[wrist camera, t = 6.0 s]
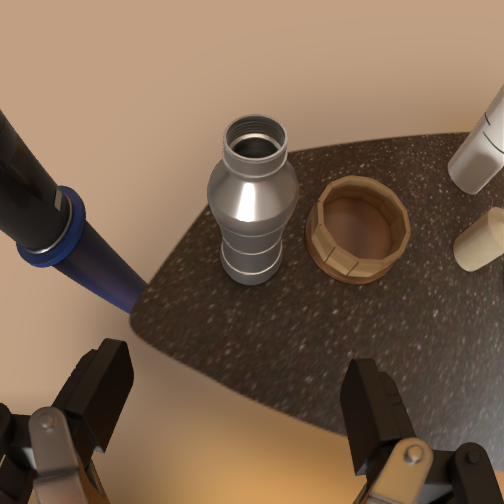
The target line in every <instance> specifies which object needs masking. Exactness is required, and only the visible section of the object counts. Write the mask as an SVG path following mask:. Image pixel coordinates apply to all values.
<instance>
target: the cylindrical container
mask: <svg viewBox="0 0 504 504" xmlns="http://www.w3.org/2000/svg"><path fill="white" fill-rule="evenodd" d="M503 166H504V85H503V86H502V88H501V89H500V91H499V93H498V94H497V95H496V97H495V98H494V100H493V102H492V103H491V104H490V106H489V107H488V109H487V110H486V112H485V113H484V115H483V116H482V117H481V119H480V120H479V122H478V123H477V125H476V126H475V128H474V129H473V130H472V132H471V133H470V134H469V136H468V137H467V138H466V140H465V141H464V142H463V144H462V145H461V146H460V148H459V149H458V150H457V152H456V153H455V154H454V156H453V157H452V158H451V160H450V161H449V162H448V172H449V175H450V177H451V179H452V180H453V182H454V183H455V184H456V186H458V187H459V188H460V189H461V190H462V191H464V192H465V193H468V194H472V195H473V194H477V193H478V192H479V191H480V190H481V189H482V188H483V187H484V186H485V185H486V184H487V183H488V182H489V181H490V180H491V179H492V177H493V176H494V175H495V174H496V173H497V172H498V171H499V170H500V169H501V168H502V167H503Z"/></svg>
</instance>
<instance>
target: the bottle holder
mask: <svg viewBox="0 0 504 504" xmlns="http://www.w3.org/2000/svg"><path fill="white" fill-rule="evenodd" d="M410 233H411V231H410V225H409V219H408V214H407V211H406V209H405V207H404V206H403V204H402V203H401V201H400V200H399V199H398V197H397V196H396V194H395V193H394V192H392V190H391V189H389V188H388V187H386V186H384V185H383V184H381V183H379V182H378V181H376V180H375V179H371V178H368V177H360V176H352V175H350V177H349V176H346V177H343V178H341V179H338V180H336V181H333V182H331V183H330V184H328V186H327V187H326V189H325V190H324V192H323V193H322V195H321V196H320V198H319V199H318V201H317V202H316V203H315V204H314V206H313V207H312V208H311V210H310V212H309V215H308V217H307V220H306V224H305V241H306V245H307V248H308V251H309V253H310V255H311V257H312V258H313V260H314V261H315V263H316V264H317V265H318V266H319V267H320V268H321V269H322V270H323V271H324V272H325V273H327V274H328V275H329V276H331V277H333V278H335V279H336V280H339V281H341V282H345V283H349V284H366V283H370V282H373V281H375V280H377V279H379V278H380V277H382V276H383V275H385V274H386V273H387V272H388V271H389V270H390V269H391V268H392V266H393V265H394V263H395V261H396V259H397V258H398V257H399V256H401V255H402V253H403V252H404V250H405V247H406V245H407V242H408V240H409V237H410Z"/></svg>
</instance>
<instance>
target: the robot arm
mask: <svg viewBox="0 0 504 504" xmlns="http://www.w3.org/2000/svg"><path fill="white" fill-rule="evenodd" d="M73 215H74V209H73V204H72V202H71V200H70V199H69V197H68V196H67V195H66V194H65V193H63V192H62V190H61V189H60V188H59V187H58V186H57V184H56V183H55V182H54V181H53V179H52V178H51V177H50V176H49V174H48V173H47V172H46V171H45V169H44V168H43V167H42V165H41V164H40V163H39V162H38V160H37V159H36V158H35V156H34V155H33V154H32V153H31V151H30V150H29V149H28V147H27V146H26V145H25V143H24V142H23V140H22V139H21V138H20V136H19V135H18V134H17V133H16V131H15V130H14V128H13V127H12V126H11V124H10V123H9V121H8V120H7V118H6V117H5V115H4V114H3V113H2V111H1V110H0V230H2V231H3V232H4V233H6V234H7V235H8V236H9V237H11V238H12V239H13V240H14V241H16V242H17V243H18V244H20V245H21V246H22V247H23V248H24V249H25V250H27V251H28V252H30V253H31V254H34V255H42V254H46V253H48V252H50V251H52V250H53V249H55V248H56V247H57V246H58V245H59V244H60V243H61V242H62V241H63V240H64V238H65V237H66V235H67V234H68V232H69V230H70V227H71V225H72V221H73ZM133 380H134V371H133V367H132V363H131V359H130V355H129V350H128V346H127V343H126V342H125V341H120V340H115V339H109V338H106V339H104V340H103V342H102V343H101V345H100V347H99V348H98V350H94V349H92V350H91V351H89V352H88V353H87V354H85V355H84V356H83V357H82V358H81V359H80V361H79V362H78V364H77V365H76V369H74V370H73V372H72V373H71V376H70V377H69V378H68V380H67V381H66V383H65V384H64V386H63V388H62V390H61V391H60V392H59V394H58V396H57V397H56V399H55V401H54V402H53V404H52V405H51V407H43V408H40V409H38V410H37V411H35V412H34V413H33V414H32V415H31V416H30V415H18V414H11V412H10V411H9V409H8V408H7V406H6V405H4V404H3V403H0V462H1V459H2V458H3V455H4V454H5V455H6V456H5V458H4V460H3V463H2V465H1V467H0V504H28V501H29V498H30V495H31V492H32V489H33V487H34V491H35V495H36V499H37V503H38V504H110V502H109V500H108V498H107V495H106V493H105V491H104V489H103V486H102V484H101V481H100V479H99V476H98V474H97V472H96V469H95V466H94V464H93V461H92V459H91V456H92V454H93V451H97V452H101V453H105V451H106V448H107V446H108V443H109V441H110V438H111V436H112V433H113V431H114V428H115V426H116V423H117V421H118V419H119V416H120V414H121V411H122V409H123V406H124V404H125V402H126V399H127V397H128V394H129V392H130V390H131V388H132V385H133ZM340 403H341V407H342V412H343V417H344V421H345V426H346V431H347V436H348V440H349V445H350V450H351V455H352V461H353V466H354V471H355V476H359V475H366V478H367V483H366V484H365V485H364V487H363V489H362V490H361V492H360V493H359V495H358V496H357V498H356V499H355V501H354V502H353V504H504V501H503V498H502V494H501V492H500V489H499V485H498V483H497V480H496V477H495V474H494V471H493V468H492V465H491V463H490V460H489V458H488V455H487V453H486V451H485V449H484V448H483V447H482V446H480V445H479V444H476V443H472V442H468V443H464V444H462V445H461V446H460V447H459V448H458V449H457V450H456V451H440V450H433V449H431V447H430V446H429V444H427V443H426V442H425V441H424V440H422V439H419V438H417V437H416V435H415V432H414V430H413V427H412V424H411V422H410V419H409V417H408V414H407V411H406V409H405V406H404V404H402V399H401V396H400V395H399V391H398V389H397V386H396V384H395V382H394V380H393V379H392V378H391V377H390V376H389V375H388V374H387V373H386V372H379V371H378V369H377V366H376V363H375V361H374V360H373V359H372V358H370V359H352V360H351V362H350V364H349V367H348V370H347V373H346V376H345V379H344V382H343V384H342V387H341V392H340Z"/></svg>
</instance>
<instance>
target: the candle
mask: <svg viewBox="0 0 504 504" xmlns="http://www.w3.org/2000/svg"><path fill="white" fill-rule="evenodd" d="M453 252H454V256H455V259H456V261H457V262H458V264H459V265H460V266H461V267H462V268H463V269H464V270H466V271H475V270H477V269H479V268H480V267H482V266H484V265H485V264H487V263H489V262H490V261H492V260H494V259H495V258H497V257H498V256H500V255H502V254H503V253H504V210H503V209H501V208H498V207H493V208H491V209H490V210H489V211H488V212H487V213H485V214H484V215H483V216H482V217H481V218H480V219H478V220H477V221H476V222H475V223H474V224H473V225H471V226H470V227H469V228H468V229H466V230H465V231H464V232H463V233H462V234H460V235H459V236H458V237H457V238H456V239H455V241H454V244H453Z"/></svg>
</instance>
